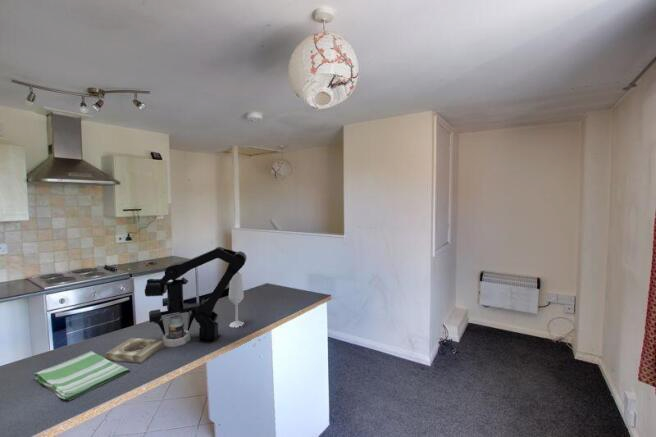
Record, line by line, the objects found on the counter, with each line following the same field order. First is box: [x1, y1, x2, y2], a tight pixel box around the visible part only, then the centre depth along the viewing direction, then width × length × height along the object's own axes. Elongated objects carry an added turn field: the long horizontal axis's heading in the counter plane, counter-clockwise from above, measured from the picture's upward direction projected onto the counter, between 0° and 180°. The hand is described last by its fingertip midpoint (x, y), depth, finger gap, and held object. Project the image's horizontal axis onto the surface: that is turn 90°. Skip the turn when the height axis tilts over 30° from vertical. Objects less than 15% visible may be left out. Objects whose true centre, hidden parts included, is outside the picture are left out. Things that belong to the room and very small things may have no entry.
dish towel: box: [33, 350, 131, 401], centre depth 101 cm, size 18×23×3 cm
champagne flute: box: [228, 271, 245, 328], centre depth 141 cm, size 7×7×24 cm
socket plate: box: [105, 337, 165, 364], centre depth 116 cm, size 14×12×2 cm
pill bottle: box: [168, 314, 185, 339], centre depth 125 cm, size 6×6×10 cm
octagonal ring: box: [162, 329, 191, 348], centre depth 125 cm, size 10×10×2 cm
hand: (176, 332), depth 125 cm, fingers open, 8 cm apart
